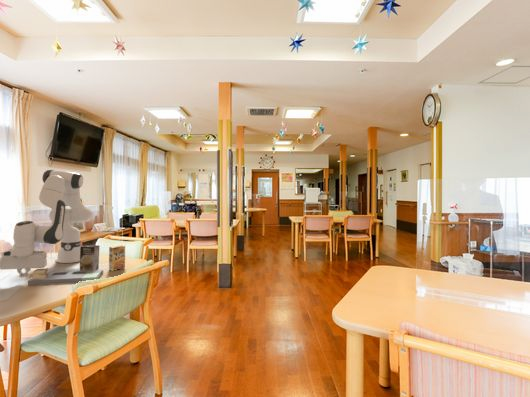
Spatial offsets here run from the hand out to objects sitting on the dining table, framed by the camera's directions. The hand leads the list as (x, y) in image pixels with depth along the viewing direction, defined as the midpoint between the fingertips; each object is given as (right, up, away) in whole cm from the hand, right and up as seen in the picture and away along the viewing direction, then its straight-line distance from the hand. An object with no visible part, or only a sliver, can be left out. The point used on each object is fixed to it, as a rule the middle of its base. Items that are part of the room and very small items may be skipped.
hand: (23, 276), depth 150 cm
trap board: (+18, -4, +9) cm, 21 cm away
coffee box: (+18, -4, +27) cm, 33 cm away
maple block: (+8, -1, +2) cm, 8 cm away
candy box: (+34, -5, +32) cm, 47 cm away
